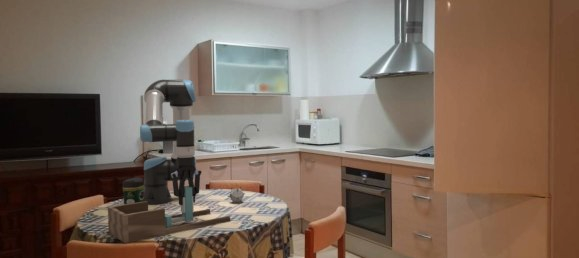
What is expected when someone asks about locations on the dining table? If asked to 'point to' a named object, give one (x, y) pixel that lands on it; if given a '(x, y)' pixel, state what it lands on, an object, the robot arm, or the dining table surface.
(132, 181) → the coffee jar
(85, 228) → the dining table surface
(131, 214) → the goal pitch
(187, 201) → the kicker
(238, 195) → the game die
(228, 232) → the dining table surface
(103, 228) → the dining table surface
